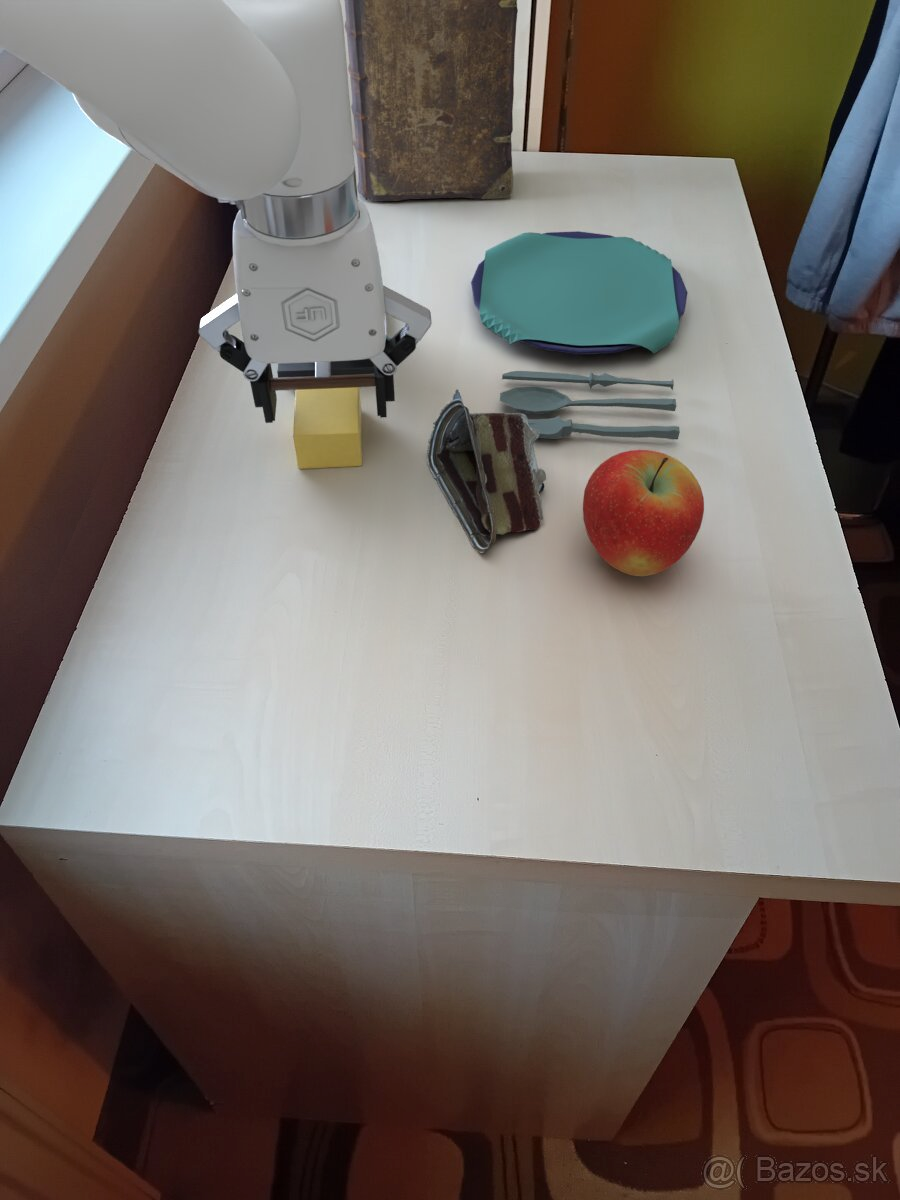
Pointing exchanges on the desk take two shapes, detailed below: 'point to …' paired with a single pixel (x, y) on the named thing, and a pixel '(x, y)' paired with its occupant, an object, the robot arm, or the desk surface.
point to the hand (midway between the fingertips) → (326, 408)
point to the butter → (328, 428)
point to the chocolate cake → (487, 471)
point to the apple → (642, 511)
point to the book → (432, 97)
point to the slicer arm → (322, 380)
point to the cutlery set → (580, 316)
